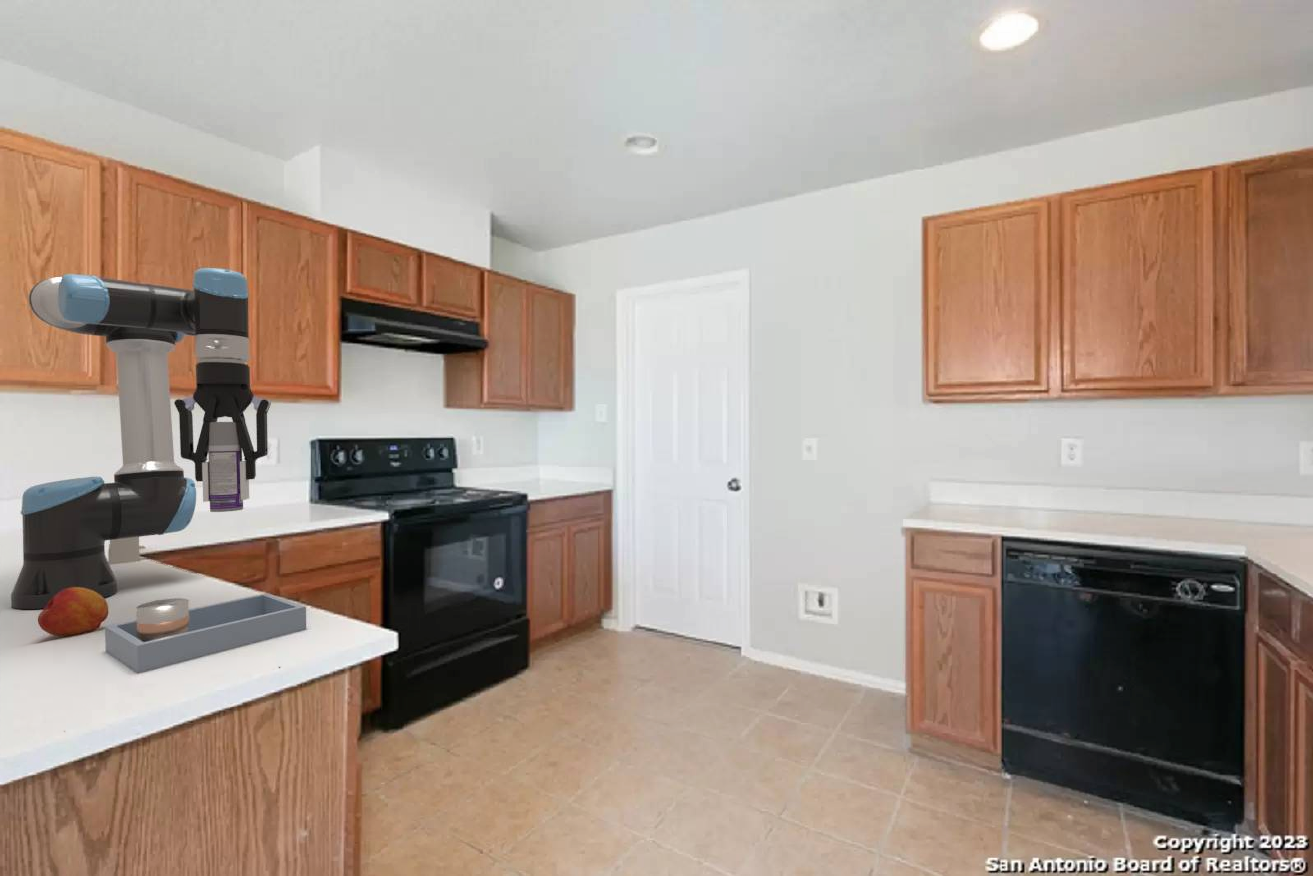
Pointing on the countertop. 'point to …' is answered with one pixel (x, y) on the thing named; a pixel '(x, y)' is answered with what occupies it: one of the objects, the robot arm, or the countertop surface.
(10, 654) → the countertop surface
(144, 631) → the tin
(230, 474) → the container
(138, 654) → the tray
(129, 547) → the architectural model
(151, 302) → the robot arm
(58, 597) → the fruit
